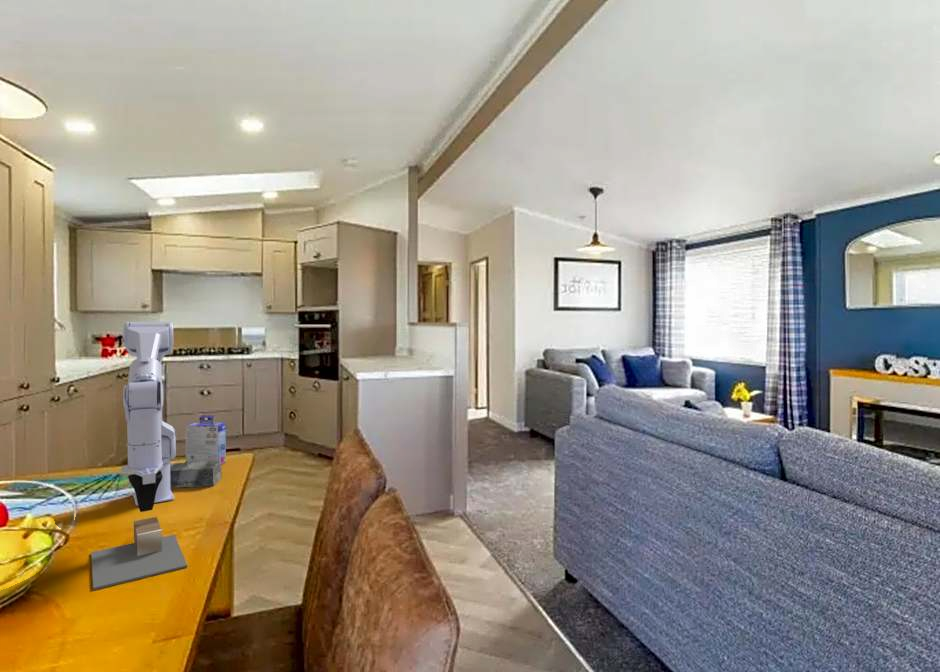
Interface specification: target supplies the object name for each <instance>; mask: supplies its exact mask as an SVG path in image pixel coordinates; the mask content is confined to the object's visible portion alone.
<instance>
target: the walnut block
mask: <svg viewBox="0 0 940 672" xmlns="http://www.w3.org/2000/svg"><path fill="white" fill-rule="evenodd" d="M158 519H159V518H158V517H157V516H155V517H148V518H144V519H138V520H134V521H133V543H135V547H136V551H137V555H138V556H140V555H145V554H149V553H154V552H158V551H162V537H163V536H162V535H163V533H162V531H163V529H162V527H161V524H160V522H159V520H158Z"/></svg>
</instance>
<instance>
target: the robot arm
mask: <svg viewBox="0 0 940 672" xmlns="http://www.w3.org/2000/svg"><path fill="white" fill-rule="evenodd" d="M122 331H123V335H122V336H123V345H124V348H125V351H126V352H127V353H128V355H131V356H134V357H136V358H135V359H134V360H133V361H132V362H131V363H130V365H129V372H128V380H127V385H124V386H123V391H122V394H123V395H122V399H123V400H122V401H123V408H124V413H125V422H126V428H127V430H126V431H127V434H126V436H127V465H122V466H120V471H121V472H122V473H125V472H126V473H127V472H129V473H131V474H129V475H128V476H127V478H128V482H129V484H130V485H131V487H132V488H133V490H134V492H133V493H132V496H133V499H134V503H135V506H137V507H138V509H139V512H140V513H144V512H148V511H153V508H154V505H155V504H156V503H162V502H166V501H167V502H168V501H172V500H175V495H174V494H173V492H172V490H171V489H172V488H170V464H171V461H172V460H174V459H175V458H176V457H177V456H176V454H177V449H176V448H177V444H176V441H177V439H176V434H175V432H176V430H175V428H174V426H172V425H171V424H170V423H167V422H165V421H164V420H163V406H164V384H163V380H162V369H163V368H162V367H163V366H162V362H163V359H164V357H165V356H167V355H170V354H172V353H173V351H174V341H175V340H174V323H173V322H172V321H171V320H170V321H169V320H168V321H126V322H125V323H124V325H123V330H122Z"/></svg>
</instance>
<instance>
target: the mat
mask: <svg viewBox="0 0 940 672" xmlns="http://www.w3.org/2000/svg"><path fill="white" fill-rule="evenodd" d="M90 554H91V572H92V573H91V575H92V588H93V589H92V591H96V590H101V589H104V588H108V587H112V586H118V585H120V584H125V583H128V582H133V581H137V580H142V579H145V578H149V577H153V576H157V575H161V574H164V573H165V574H166V573H168V572H169V573H170V572H174V571H177V570H178V571H179V570H182V569H185V568H188V563H187V561H186V558H185V556H184V553H183V552H182V549H181V547H180V544H179V541H178V540H177V537H176V535H175V534H169V535H166V536H162V551H158V552H154V553H149V554H145V555H140V556H138V555H137V551H136V547H135V543H134V542H132V543H127V544H123V545H119V546H113V547H109V548H104V549H99V550H95V551H91V553H90Z"/></svg>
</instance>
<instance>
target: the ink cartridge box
mask: <svg viewBox="0 0 940 672" xmlns="http://www.w3.org/2000/svg"><path fill="white" fill-rule="evenodd" d="M214 417H215V415H209V414H208V415H207V414H205V415H201V418H200V422H193V423H190V424H188V425H186V426H185V461H187V462H188V463H193V462H207V461H220V460H221V465H223V464H225V463H226V462H227V455H226V453H227V451H226V449H227V444H226V443H227V441H226V439H227V436H226V435H227V432H226V431H227V429H226V428H227V426H226V425H227V423H226V422H214V419H215V418H214ZM207 418H209V419H207Z"/></svg>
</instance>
